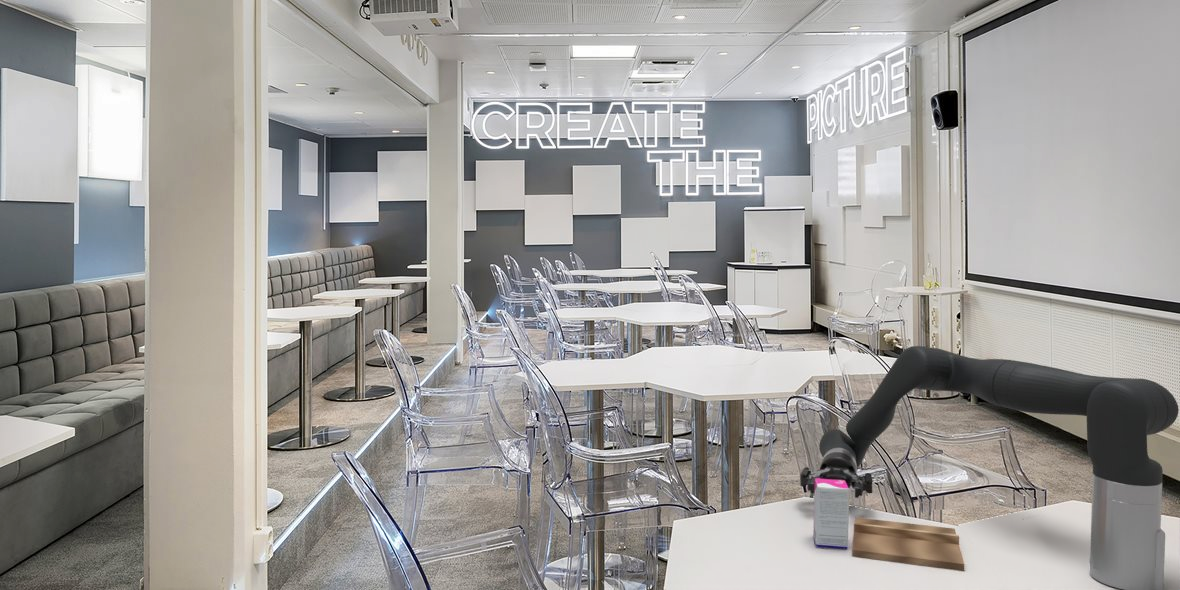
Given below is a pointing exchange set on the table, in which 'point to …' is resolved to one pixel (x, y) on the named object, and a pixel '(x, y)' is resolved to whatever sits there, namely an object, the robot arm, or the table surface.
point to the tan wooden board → (907, 543)
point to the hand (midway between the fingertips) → (834, 490)
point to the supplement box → (831, 514)
